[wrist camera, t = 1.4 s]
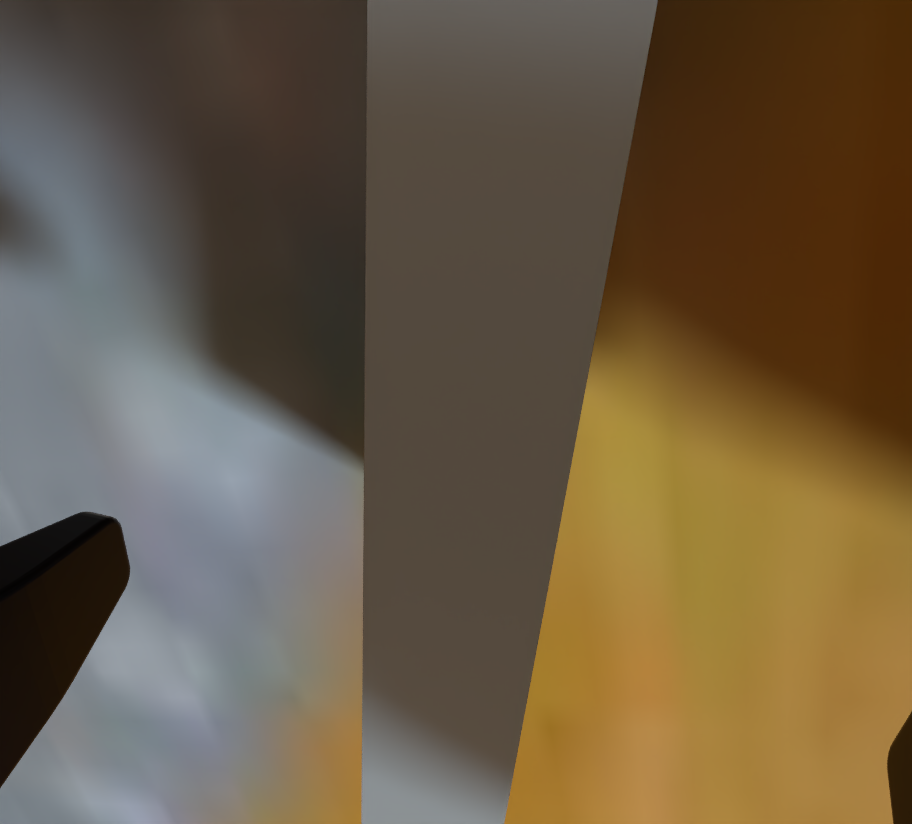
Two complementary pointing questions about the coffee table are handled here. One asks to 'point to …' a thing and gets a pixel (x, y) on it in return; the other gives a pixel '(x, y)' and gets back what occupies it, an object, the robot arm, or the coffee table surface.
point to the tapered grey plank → (477, 364)
